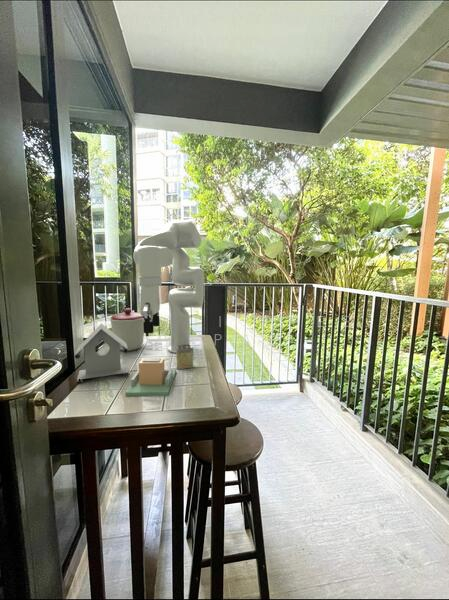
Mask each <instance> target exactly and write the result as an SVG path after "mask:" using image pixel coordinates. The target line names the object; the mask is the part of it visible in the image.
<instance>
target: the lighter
mask: <svg viewBox="0 0 449 600" xmlns="http://www.w3.org/2000/svg"><path fill="white" fill-rule="evenodd" d="M190 345H191V344H190ZM190 345H189V344H183V345H178V349H177V353H176V370H177V369H179V370H186V369H191V368H193V367H194V351H193V350H194V349H193V348H190ZM186 346H188V348H185V347H186ZM181 347H184V348H181Z"/></svg>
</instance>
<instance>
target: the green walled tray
mask: <svg viewBox="0 0 449 600" xmlns="http://www.w3.org/2000/svg"><path fill="white" fill-rule="evenodd" d="M176 374H177V368H176V369H175V368H171V369H170V368H165V379H164V381H163V384H162V385H139V369H138V370H136V372H135V373H134V374H133V376H132V377H131V378H130V385H129V387H128V388H127V390H126V391H125V396H126V397H132V396H133V397H143V396H144V397H147V396H149V397H150V396H151V397H152V396H153V397H154V396H155V397H157V396H160V397H161V396H162V397H163V396H169V394H170V390H171V387H172V385H173V383H174V382H173V381H174V379H175V376H176Z"/></svg>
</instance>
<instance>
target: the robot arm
mask: <svg viewBox="0 0 449 600" xmlns="http://www.w3.org/2000/svg"><path fill="white" fill-rule="evenodd" d="M201 244H202V235H201V232H200V230H199V228H198V226H197V224H196V223H194V222H193V220H170V221H168V222H166V223H165V224H164V226H163V227H162V229H161V230H160V232H158V233H155V234H153V235H151V236H149V237H145V238H143V239H142V240H141V241H140V242H139V243H138V244H137V245H136V247H135V248H134V250H133V253H132V255H133V261H134V264H135V265H137V266H138V283H139V284H138V285H139V286H138V287H141V288H140V295H139V296H140V297H139V298H140V299H139V302H140V303H139V307H140V309H139V313H140V314H141V315H144V316H143V327H144V334H153V333H154V327H159V326H160V306H161V305H160V304H161V303H160V301H161V300H160V287H162V268H166V267H169V266H171V265H172V274H171V276H172V277H171V278H172V279H171V281H172V283H173V284H174V285H175V286H181V287H177V288H173V289H170V290H169V291H168V295H167V298H168V305H169V311H170V313H169V314H170V345H169V346H168V347H167V351H168V352H169V353H173V354H177V349H178V345H183V344H189V345H190V348H193V347H194V346H193V345H192V344H191V343H190V341H191V340H190V339H191V338H190V337H191V336H190V335H191V334H190V329H191V328H190V326H191V325H190V324H191V323H190V314H189V312H188V310H187V309H186V308H196V309H198V308H202V306H203V303H204V296H205V295H204V293H205V292H204V291H205V274H204V271H203V268H201V267H198V266H190V264H191V262H190V261H191V258H190V257H191V256H190V255H189V254H188V252H187V251H186V250H185V249H196V248H199V247H200V246H201ZM183 286H185V287H186V288H185V287H183ZM187 286H188V287H194V288H187ZM182 287H183V288H182ZM181 348H184V347H181ZM185 348H188V346H186V347H185Z"/></svg>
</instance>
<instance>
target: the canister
mask: <svg viewBox="0 0 449 600" xmlns="http://www.w3.org/2000/svg"><path fill="white" fill-rule="evenodd" d="M123 311H124V312H120V313H116V314H112V316H110V317H108V320H109V321H110V325H111V331H112V332H113V333H114V334H115V335H117V336H118V337H119V338H120V339H122V340H123V341H124V342H126V344H127V347H128V352H130V351H135V350H137V349H140V348H141V347H142V345H143V343H144V338H145V337H144V336H145V333H144V327H143V316H144V315H141V314H140V312H135V311H132V309H131V308H129V307H127V308H125V309H124V310H123ZM120 351H122V352H123V347H122V345H121V344H120Z"/></svg>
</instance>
